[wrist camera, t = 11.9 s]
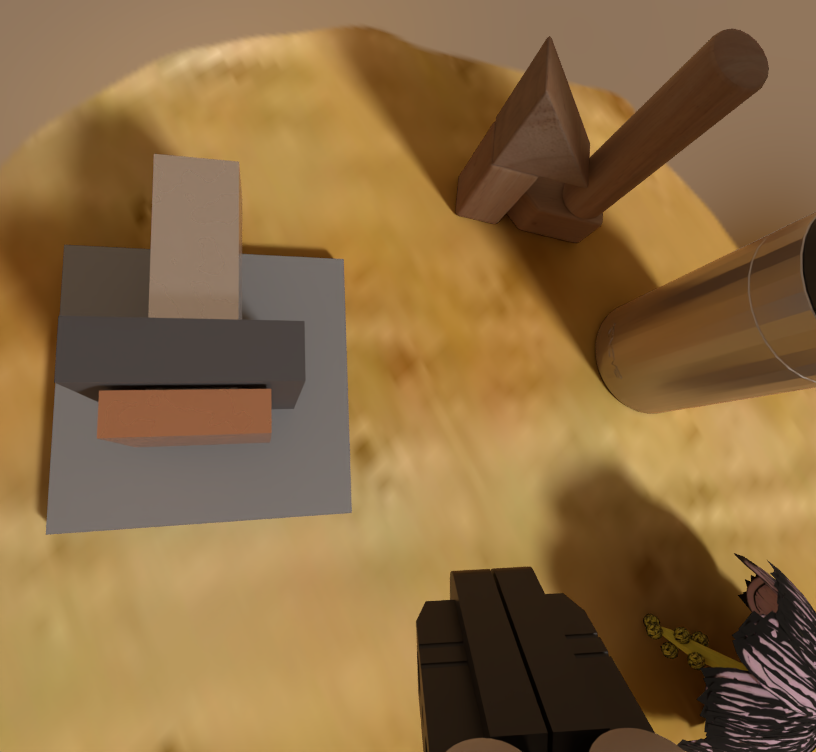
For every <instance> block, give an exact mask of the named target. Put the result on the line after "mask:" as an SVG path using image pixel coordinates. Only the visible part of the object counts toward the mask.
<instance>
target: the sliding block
mask: <svg viewBox="0 0 816 752" xmlns="http://www.w3.org/2000/svg"><path fill="white" fill-rule="evenodd" d="M148 318H192V319H239V320H242V191H241V179H240V167H239V162H236V161H225V160H214V159H204V158H193V157H183V156H172V155H161V154H154V165H153V195H152V224H151V254H150V283H149V313H148ZM271 434H272V414H271V389H242V387H153V388H146V390H105V391H99V402H98V422H97V439H101V440H106V441H110V442H114V443H119V444H123V445H127V446H132V447H162V446H190V445H218V444H246V443H270V441H271Z"/></svg>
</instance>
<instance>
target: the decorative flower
mask: <svg viewBox="0 0 816 752" xmlns="http://www.w3.org/2000/svg"><path fill="white" fill-rule="evenodd" d="M734 554H735V553H734ZM735 555H736V556H737V557H738V558H739V559H740V560H741V561H742V562H743V563H744V564H745V565H746V566H747V567H748V568H749V569H751V570H752V571H753V572H754V573H755V574H756V577H754V576H752V575H751V582H750V581H748V580H746V579H745V581H746V584H747V592H743V593H744V594H740V595H738V596H739V597H740V598H741V600H742V601H743V602H744V603H745V604H746V606H747V607H748V608H749V609H750V610H751V611H752V613H751V614H750V616H749V617H748V618H747V619H746V620H745V622H744V623H743V624H742V625H741V627H740V628H739V631H737V632H736V633H734V634H733V635H732V636H733V637H734V638H735V639H736V640H733V644H734V647H735V650H736V653H737V654H738V656H739V658H740V660H741V662H742V663H743V664H742V663H740V662H738V661H736V660H733V659H731V658H729V657H727V656H725V655H723V654H720V653H718V652H716V651H714V650H712V649H710V648H707V647H708V645H709V644H708V641H709V640H708V637H707V636H706V635H705V634H703V633H702V632H695V633H694V634H692V636H691V634H690V632H689V631H688V630H687V629H686V628H684V627H679V628H676V629H675V631H673V630H671V629H668V628H664V627H661V626H659V623H660V621H659V619H658V618H657V617H656V616H654V615H652V614H647V615H646V616H645V617H644V620H643V622H644V625H645V627H646V631H647V634H648V636H650V637H651V638H654V639H659V638H661V637H662V636H663V637H665V638H666V639H667V640H669V641H670V642H665V643H663V645H662V646H660V647H661V651H662V652H663V654H664V656H665V657H667V658H672V659H674V658H676V657H677V656H678V648H679V649H681V650H682V651H683V652H685V653H686V654H687V655H688V658H687V659H688V664H689V665H690V667H692V668H694V669H696V670H701V671H702V673H703V675H704V677H705V678H703V679H704V681H705V683H706V688H705V692H704V693H703V694H702V695H701V696H699V697H698V698H697V700H698V701H700V702H701V703H703V704H704V705H705V706H704V708H703V710H702V712H701V714H700V716H702V717H704V718H706V722H705V731H704V732H707V734H706V736H707V737H706V738H705V739H699V740H694V741H686V740H682V741H681V742H680V743H679V744H678V745H677V746H679V747H680V748H681V749H682V750H684V751H686V752H812V751H813V750H815V748H816V612H815V611H814V610H813V608H812V606H811V605H810V604H809V602H808V601H807V599H806V598H805V597H804V595H803V594H802V593H801V592H800V591H799V590H798V589H797V588H796V587H795V585H794V584H793V583H792V582H791V581H790V580H789V579H788V578H787V577H786V576H785V575H784V574H783V573H782V572H781V571H780V570H779V569H778V568H776V567H775V566H774V565H773V564H771V563H770V562H769V561H768V560H767V561H768V562H769V563H770V565H771V566H772V567H773V569H774V572H773V573H770V574H771V575H772V576H773V577H774V578H775V579H776V580H775V579H774V578H773V577H771V576H770V575H769V574H768V573H767V572H765V571H764V570H763V569H761V568H760V567H758V566H757V565H755V564H754V563H752V562H751V561H749V560H748V559H747V558H745V557H743V556H740V555H737V554H735ZM676 646H677V647H678V648H677V647H676ZM706 664H707V665H709V666H711V668H703V667H704V665H706Z"/></svg>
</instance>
